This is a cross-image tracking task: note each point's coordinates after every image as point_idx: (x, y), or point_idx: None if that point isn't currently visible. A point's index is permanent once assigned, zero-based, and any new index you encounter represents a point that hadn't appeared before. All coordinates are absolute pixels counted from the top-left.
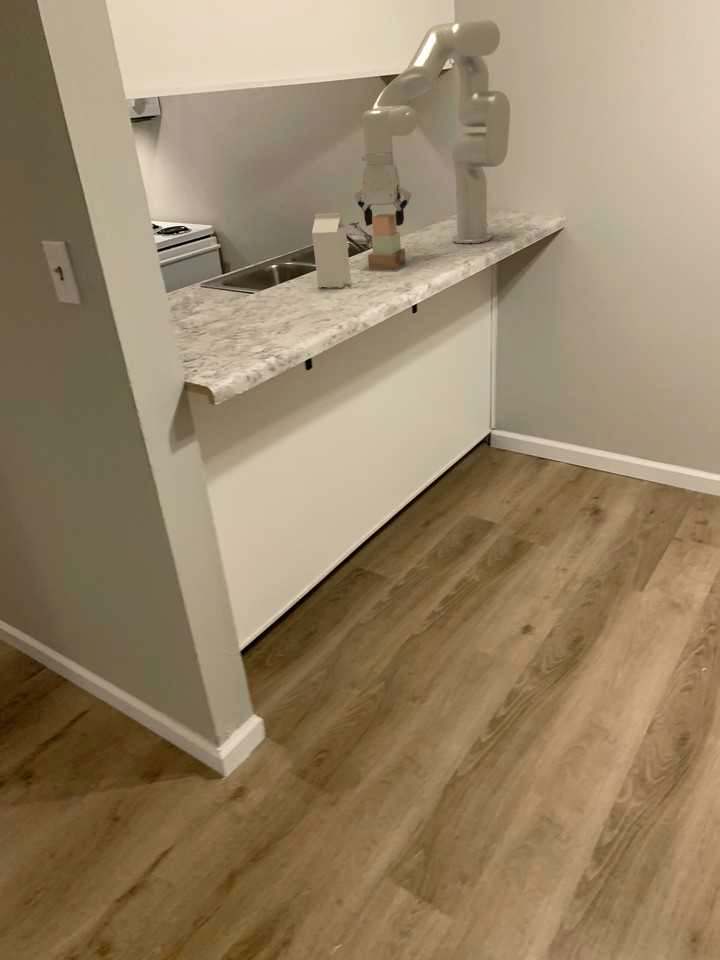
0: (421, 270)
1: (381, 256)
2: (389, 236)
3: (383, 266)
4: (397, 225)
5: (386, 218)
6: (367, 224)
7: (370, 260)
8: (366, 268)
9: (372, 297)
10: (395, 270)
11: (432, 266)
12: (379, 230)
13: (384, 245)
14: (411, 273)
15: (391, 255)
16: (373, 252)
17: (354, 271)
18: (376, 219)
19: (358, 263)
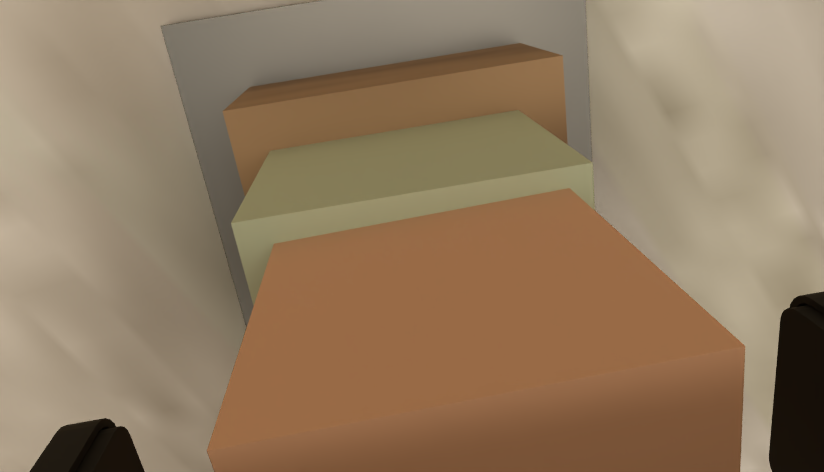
0: (56, 222)
1: (377, 84)
2: (251, 220)
3: (360, 73)
4: (94, 421)
5: (268, 426)
6: (813, 303)
7: (516, 53)
8: (554, 48)
9: None
10: (210, 63)
11: (64, 354)
12: (464, 244)
13: (357, 162)
14: (65, 105)
15: (241, 109)
16: (516, 114)
17: (667, 8)
18: (579, 343)
19: (760, 257)
